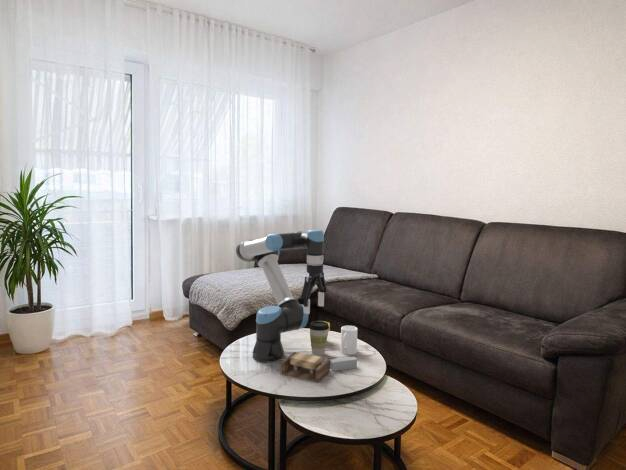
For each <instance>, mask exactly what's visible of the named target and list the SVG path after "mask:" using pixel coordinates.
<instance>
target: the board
mask: <svg viewBox="0 0 626 470" xmlns="http://www.w3.org/2000/svg"><path fill="white" fill-rule="evenodd" d="M322 363H323V356H316V355H313V354H308V353H304V352H299V351H297V352H296V354H294V355H293V356H292V357H290V364H292V365H296V366H301V367H305V368H310V369H314V370H315V369H316V368H317V367H319V366H320V365H321V364H322Z"/></svg>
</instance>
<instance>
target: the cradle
mask: <svg viewBox="0 0 626 470" xmlns="http://www.w3.org/2000/svg"><path fill="white" fill-rule="evenodd" d="M296 353H297V352H296V351H295V352H292V353H291V354H290V355H289V356H287V357H285V359H284V358H283V360H282V361H281V362H280V363H281V365H280V367H281V369H280V371H281V372H280V374H281V375H285V376H289V377H295V378H298V379H302V380H307V381H311V382H315V383H320V382H321V381H322V380H323V379H324V378H325V377H326V376H327V375H328V374H329V373H330V372H331V369H330V360H331V359H329V358H326V359H325V360H324V361H322V364H321V365H320V366H318V367H317V368H316V369H315V370H314V369H310V368H305V367H301V366H296V365H292V364H290V357H292V356H293V355H294V354H296Z"/></svg>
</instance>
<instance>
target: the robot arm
mask: <svg viewBox="0 0 626 470" xmlns="http://www.w3.org/2000/svg"><path fill="white" fill-rule="evenodd" d="M324 235H325V234H324V231H323V230H322V229H307V232H306V231H305V232H304V231H301V230H299V231H294V232H286V233H284V232H283V233H275V232H274V233H270V234H268V235H267V236H265V237H262V238H258V239H246V240H242V241H240V242H239V243H238V244H237V246H236V249H235V254H236V257H238V259H239V260H242V261H243V262H251V263H252V262H256V263H257V266H258V267H259V268H262V271H263V272H264V275H265V277H266V279H267V283H268V285H269V287H270V290H271V292H272V295H273V296H274V299H275V301H276V303H277V305H268V306H263V307H261V308H259V309H258V311H257V312H256V316H255V317H256V319H255V322H256V323H255V324H256V325H255V326H256V327H255V329H256V330H255V331H256V332H255V333H256V334H255V337H256V341H255V343H254V347H253V349H252V358H253V359H254V360H255V361H257V362H261V363H273V362H279V361H281V360H282V359H284V358H285V350H284V346H283V344H282V343H283V342H282V338H281V336H282V334H283V333H287V332H291V331H298V330H300V329H303V328H305V327H307V324H308V321H309V315H310V312H311V299H310V298H311V297H310V296H311V294H312V291H313V289H314V287H315V286H316V288H317V289H318V292H317V296H318V298H317V306H318V307H325V293H327V289H328V288H327V283H326V279H325V273H324V272H325V271H324V264H323V263H324V258H325V257H324V247H325V237H324ZM296 249H303V250H304V249H305V250H306V263H307V264H306V273H307V274H308V276H304V283H303V287H302V291H301V296H300V299H302V300H303V304H302V303H301V304H300V302H299V300H298V299H297V298H294V296H293V294H292V291H291V290H290V287H289V285H288V283H287V280H286V277H285V275H284V274H283V271H282V269H281V267H280V265H279V262H278V261H279V257H280V254H281V253H280V251H284V250H296Z"/></svg>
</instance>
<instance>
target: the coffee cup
mask: <svg viewBox="0 0 626 470" xmlns="http://www.w3.org/2000/svg"><path fill="white" fill-rule="evenodd" d="M323 321H324V320H314V321H311V322H310V324H309V325H308V328H309V336H310V346H311V355H314V356H319V357H323V356H324V355H325V353H326V348H327V341H328V336H329V332H328V329H329V326H328V323H329V322H328V323H326V322H327V321H325V322H323Z"/></svg>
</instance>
